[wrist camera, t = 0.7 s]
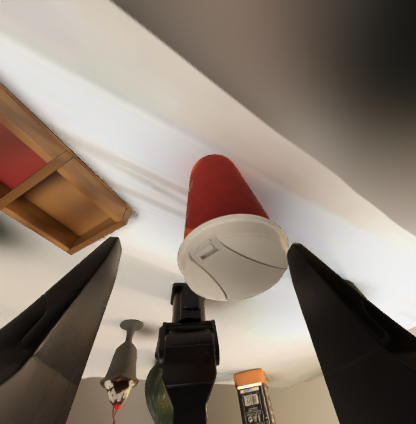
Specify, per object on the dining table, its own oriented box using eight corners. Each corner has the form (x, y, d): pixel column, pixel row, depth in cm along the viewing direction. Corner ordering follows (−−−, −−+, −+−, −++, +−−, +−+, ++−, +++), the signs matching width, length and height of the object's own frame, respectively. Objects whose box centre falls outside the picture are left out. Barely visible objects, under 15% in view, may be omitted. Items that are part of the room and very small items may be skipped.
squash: (214, 374, 52) (173, 443, 41) (202, 387, 61) (166, 447, 50) (175, 333, 57) (130, 386, 46) (169, 351, 66) (130, 399, 55)
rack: (132, 209, 26) (126, 224, 24) (80, 239, 28) (71, 255, 26) (-25, 58, 16) (-63, 56, 14) (-85, 121, 18) (-126, 130, 16)
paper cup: (168, 176, 24) (150, 277, 12) (217, 129, 21) (252, 204, 10) (211, 213, 27) (228, 316, 16) (257, 177, 25) (316, 271, 13)
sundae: (130, 334, 47) (111, 428, 35) (109, 323, 43) (79, 424, 31) (153, 326, 45) (141, 420, 33) (133, 314, 41) (111, 416, 29)
